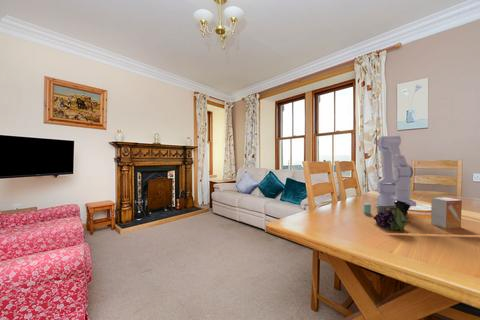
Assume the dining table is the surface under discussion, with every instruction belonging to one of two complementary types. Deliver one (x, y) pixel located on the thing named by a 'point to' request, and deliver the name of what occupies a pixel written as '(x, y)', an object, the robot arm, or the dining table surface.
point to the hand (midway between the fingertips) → (402, 216)
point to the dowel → (367, 209)
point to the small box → (446, 212)
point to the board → (382, 208)
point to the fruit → (391, 219)
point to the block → (395, 210)
